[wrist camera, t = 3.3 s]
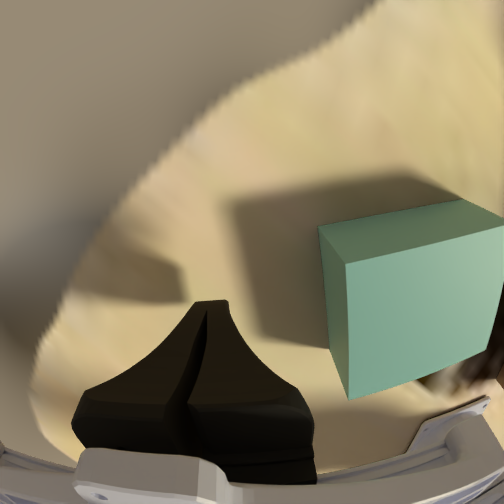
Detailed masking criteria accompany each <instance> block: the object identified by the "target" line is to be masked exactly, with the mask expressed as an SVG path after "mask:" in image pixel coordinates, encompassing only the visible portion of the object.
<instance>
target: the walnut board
mask: <svg viewBox="0 0 504 504" xmlns="http://www.w3.org/2000/svg"><path fill="white" fill-rule="evenodd" d="M496 380H497V381H498V382H499V384H500V385H501V386H502V388H503V389H504V364H503V366H502V368H501V370H500V372H499V374H498V376H497V378H496Z"/></svg>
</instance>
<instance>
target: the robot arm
mask: <svg viewBox="0 0 504 504" xmlns="http://www.w3.org/2000/svg"><path fill="white" fill-rule="evenodd" d="M490 400H491V398H490V397H489V396H487V397H485V398H483V399H480V400H478V401H476V402H474V403H471V404H469V405H466V406H464V407H462V408H459V409H456V410H454V411H451V412H449V413H446V414H443V415H441V416H438V417H435V418H432V419H429V420H427V421H425V422H424V423H423V424H422V425H421V427H420V429H419V431H418V433H417V434H416V436H415V438H414V440H413V442H412V443H411V445H410V447H409V448H408V450H407V452H406V453H405V454H402V455H399V456H395V457H392V458H389V459H385V460H381V461H378V462H374V463H370V464H366V465H362V466H358V467H354V468H349V469H345V470H340V471H335V472H330V473H324V474H318V475H317V473H316V469H315V464H314V459H313V458H314V451H313V446H312V441H313V434H314V420H313V417H312V414H311V412H310V409H309V407H308V405H307V403H306V402H305V400H304V398H303V396H302V395H301V393H300V392H299V390H298V388H296V387H294V386H293V385H291V384H289V383H288V382H286V381H285V380H283V379H282V378H280V377H279V376H278V375H276V374H275V373H274V372H273V371H272V370H270V369H269V368H268V367H267V366H266V365H265V364H264V363H263V362H262V361H261V360H260V359H259V358H258V357H257V356H256V355H255V354H254V353H253V351H252V350H251V349H250V348H249V346H248V345H247V344H246V342H245V341H244V339H243V338H242V336H241V335H240V333H239V331H238V329H237V327H236V325H235V323H234V321H233V319H232V317H231V314H230V310H229V303H228V301H227V300H213V301H198V302H195V303H194V304H193V305H192V306H191V308H190V309H189V311H188V312H187V313H186V315H185V316H184V317H183V318H182V320H181V321H180V322H179V323H178V325H177V326H176V327H175V328H174V330H173V331H172V332H171V333H170V334H169V335H168V336H167V337H166V339H165V340H164V341H163V342H162V343H161V344H160V345H159V346H158V347H157V348H156V349H154V350H153V351H152V352H151V353H150V354H149V355H147V356H146V357H145V358H143V359H142V360H141V361H139V362H138V363H136V364H135V365H134V366H132V367H131V368H129V369H128V370H126V371H125V372H123V373H121V374H120V375H118V376H116V377H114V378H112V379H110V380H108V381H106V382H104V383H102V384H100V385H97V386H95V387H93V388H90V389H88V390H85V391H84V393H83V395H82V397H81V399H80V402H79V404H78V406H77V409H76V411H75V414H74V416H73V419H72V422H71V425H72V429H73V431H74V433H75V435H76V436H77V438H78V439H79V440H80V442H81V443H82V444H83V445H84V447H85V448H86V449H85V450H84V451H83V452H82V453H81V455H80V458H79V461H78V464H77V467H76V468H72V467H67V466H63V465H60V464H56V463H52V462H48V461H45V460H42V459H38V458H35V457H32V456H29V455H26V454H23V453H20V452H17V451H14V450H11V449H9V448H6V447H5V446H4V444H3V443H2V442H1V441H0V504H504V450H503V449H502V447H501V445H500V443H499V442H498V440H497V438H496V437H495V435H494V433H493V432H492V430H491V428H490V427H489V425H488V424H487V422H486V420H485V419H484V417H483V416H482V413H483V412H484V410H485V409H486V407H487V405H488V404H489V402H490Z"/></svg>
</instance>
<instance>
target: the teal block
mask: <svg viewBox="0 0 504 504" xmlns="http://www.w3.org/2000/svg"><path fill="white" fill-rule="evenodd" d="M318 234H319V242H320V251H321V260H322V269H323V278H324V289H325V299H326V311H327V323H328V336H329V350H330V352H331V355H332V357H333V360H334V363H335V365H336V368H337V371H338V373H339V376H340V379H341V382H342V384H343V387H344V390H345V393H346V395H347V398H348V400H352V399H356V398H359V397H363V396H366V395H370V394H373V393H376V392H379V391H383V390H386V389H389V388H392V387H395V386H398V385H401V384H404V383H407V382H410V381H412V380H415V379H418V378H421V377H423V376H426V375H428V374H431V373H434V372H436V371H439V370H441V369H444V368H446V367H448V366H451V365H453V364H455V363H458V362H460V361H462V360H465V359H467V358H469V357H471V356H473V355H476V354H478V353H480V352H482V351H484V350H486V347H487V344H488V341H489V337H490V334H491V331H492V327H493V324H494V320H495V316H496V313H497V309H498V305H499V300H500V296H501V292H502V287H503V282H504V218H502V217H500V216H498V215H496V214H494V213H492V212H490V211H488V210H486V209H484V208H482V207H480V206H478V205H475V204H473V203H471V202H469V201H467V200H465V199H461V200H455V201H449V202H444V203H438V204H433V205H428V206H422V207H417V208H411V209H406V210H401V211H395V212H390V213H385V214H379V215H374V216H369V217H363V218H358V219H353V220H348V221H343V222H337V223H332V224H327V225H322V226H318Z"/></svg>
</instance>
